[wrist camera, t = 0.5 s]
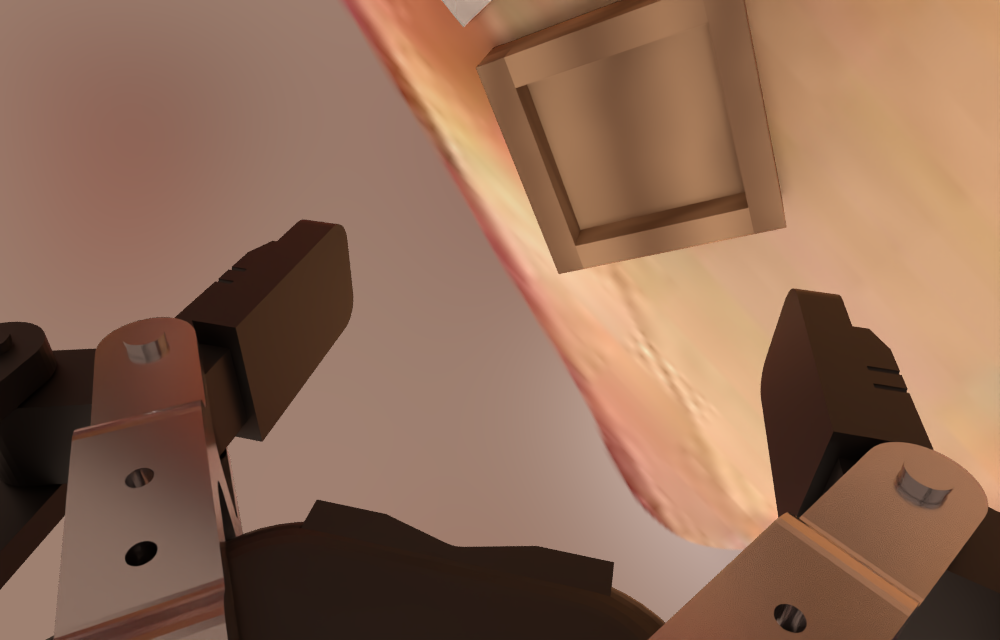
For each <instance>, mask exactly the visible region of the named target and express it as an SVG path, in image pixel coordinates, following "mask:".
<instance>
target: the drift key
mask: <svg viewBox="0 0 1000 640" xmlns="http://www.w3.org/2000/svg"><path fill="white" fill-rule="evenodd" d="M442 1H443V2H444V4H445V5H446V6H447V7H448V9H449V10H450V11H451V12H452V14H453V15H454V16H455V17H456V19H457V20H458V21H459V22H460V24H461V25H462V26H463V27H464V26H465V25H467V24H468V23H469V22H470V21H471V20H473V19H474V18H475V17H476V16H477V15H478V14H479V13H480V12H481V11H482V10H483V9H484V8H485V7H486V6H487V5H488V4H489V3H490V2H491V1H492V0H442Z"/></svg>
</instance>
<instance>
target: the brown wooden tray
mask: <svg viewBox="0 0 1000 640" xmlns="http://www.w3.org/2000/svg"><path fill="white" fill-rule="evenodd" d="M476 69H477V72H478V74H479V77H480V79H481V82H482V84H483V87H484V89H485V92H486V94H487V97H488V99H489V102H490V104H491V107H492V109H493V112H494V114H495V117H496V119H497V122H498V124H499V127H500V129H501V132H502V134H503V137H504V139H505V142H506V144H507V147H508V149H509V152H510V154H511V156H512V159H513V161H514V164H515V166H516V169H517V171H518V174H519V176H520V179H521V181H522V184H523V186H524V189H525V191H526V194H527V196H528V199H529V201H530V204H531V206H532V209H533V211H534V214H535V216H536V219H537V221H538V224H539V226H540V229H541V231H542V234H543V236H544V239H545V241H546V244H547V246H548V248H549V251H550V253H551V256H552V258H553V261H554V263H555V266H556V268H557V271H558V273H559V274H561V273H566V272H571V271H576V270H581V269H586V268H591V267H596V266H600V265H605V264H610V263H615V262H620V261H625V260H630V259H635V258H639V257H644V256H649V255H654V254H659V253H664V252H669V251H674V250H679V249H683V248H688V247H693V246H698V245H703V244H708V243H713V242H718V241H722V240H727V239H732V238H737V237H742V236H747V235H752V234H757V233H762V232H766V231H771V230H776V229H781V228H786V221H785V215H784V209H783V202H782V196H781V191H780V185H779V180H778V175H777V170H776V164H775V159H774V154H773V148H772V143H771V138H770V133H769V127H768V122H767V117H766V111H765V106H764V101H763V96H762V90H761V85H760V80H759V74H758V69H757V64H756V58H755V53H754V48H753V43H752V37H751V32H750V27H749V21H748V16H747V11H746V6H745V0H621V1H618V2H615V3H613V4H610V5H607V6H605V7H602V8H599V9H597V10H594V11H591V12H589V13H586V14H583V15H581V16H578V17H575V18H573V19H570V20H567V21H564V22H562V23H559V24H556V25H554V26H551V27H548V28H546V29H543V30H540V31H538V32H535V33H532V34H530V35H527V36H524V37H522V38H519V39H516V40H514V41H511V42H508V43H506V44H503V45H500V46H497V47H495V48H493V49H492V50H491V51H490V52H489V54H488V55H487V56H486V57H485V58H484V59H483V60H482V61H481V63H480V64H479V65H478V66H477V67H476Z"/></svg>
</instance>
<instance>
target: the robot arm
mask: <svg viewBox="0 0 1000 640" xmlns="http://www.w3.org/2000/svg"><path fill="white" fill-rule="evenodd" d="M352 308H353V289H352V280H351V270H350V261H349V251H348V243H347V235H346V232H345V229H344V228H343V226H342V225H339V224H333V223H325V222H317V221H311V220H300V221H299V222H297V223H296V224H295V225H294V226H293V227H292V228H291V229H290V230H289V231H288V232H286V234H284V236H282V237H281V238H280V239H279V240H278V241H271V242H269V243H267V244H265V245H263V246H261V247H259V248H256V249H254V250H252V251H250V252H248V253H247V254H246V255H245V256H243V257H242V258H241V259H240V260H239V261H238V262H237V263H236V264H234V265H233V266H232V270H228V271H227V272H225V273H224V274H223V275H222V276H221V277H220V278H219V281H218V282H214V283H213V284H212V285H211V286H210V287H209V288H207V289H206V290H205V291H204V292H203V293H202V294H201V295H200V296H199V297H197V298H196V299H195V300H194V301H193V302H192V303H191V304H189V305H188V306H187V307H186V308H185V309H184V310H183V311H182V312H180V313H179V314H178V315H177V316H176V317H175V318H170V317H156V318H149V319H143V320H138V321H135V322H132V323H129V324H126V325H124V326H122V327H120V328H118V329H116V330H114V331H112V332H111V333H110V334H108V335H107V336H106V337H105V338H103V339H102V341H101V342H100V343H99V344H98V346H97V348H96V349H80V350H57V351H52V349H51V347H50V344H49V342H48V340H47V338H46V335H45V333H44V331H43V330H42V329H41V328H40V327H38V326H37V325H34V324H31V323H26V322H7V323H0V589H1V588H2V587H3V586H4V585H5V583H6V582H7V581H8V580H9V579H10V578H11V577H12V575H13V574H14V573H15V572H16V571H17V569H19V567H20V566H21V565H22V564H23V563H24V562H25V560H26V559H27V558H28V557H29V556H30V555H31V554H32V552H33V551H34V550H35V549H36V548H37V547H38V546H39V544H40V543H41V542H42V541H43V540H44V539H45V537H46V536H47V535H48V534H49V533H50V532H51V531H52V529H53V528H54V527H55V526H56V525H57V524H58V523H59V521H60V520H61V519H62V518H63V517H64V516H65V520H64V532H63V543H62V553H61V564H60V575H59V587H58V597H57V608H56V620H55V631H54V636H52V637H50V638H48V639H46V640H1000V512H998V511H995V510H994V509H992V508H990V507H988V500H987V496H986V494H985V492H984V490H983V488H982V487H981V485H980V484H979V482H978V481H977V480H976V479H975V478H974V477H973V476H972V475H971V474H970V473H969V472H968V471H967V470H966V469H965V468H963V467H962V466H960V465H959V464H958V463H956V462H955V461H953V460H952V459H950V458H948V457H947V456H945V455H943V454H941V453H938V452H936V451H934V450H933V447H932V445H931V443H930V440H929V438H928V436H927V433H926V431H925V429H924V426H923V424H922V422H921V419H920V417H919V415H918V412H917V410H916V408H915V405H914V403H913V401H912V398H911V396H910V394H909V393H907V387H906V384H905V382H904V380H903V377H902V375H899V372H900V370H899V368H898V366H897V363H896V361H895V359H894V356H893V354H892V352H891V349H890V348H889V347H888V346H886V345H885V344H884V343H883V342H882V341H881V340H880V339H879V338H878V337H877V336H876V335H875V334H874V333H873V332H872V331H871V330H870V329H867V328H860V327H853V326H852V324H851V322H850V319H849V316H848V313H847V311H846V308H845V305H844V303H843V300H842V298H841V296H840V295H836V294H829V293H822V292H815V291H808V290H800V289H791V290H790V291H789V293H788V295H787V297H786V299H785V302H784V305H783V308H782V311H781V314H780V317H779V320H778V323H777V326H776V329H775V332H774V335H773V338H772V341H771V344H770V347H769V350H768V354H767V357H766V360H765V363H764V367H763V372H762V378H761V401H762V408H763V415H764V422H765V428H766V435H767V442H768V449H769V456H770V463H771V470H772V476H773V483H774V490H775V497H776V504H777V511H778V517H779V518H778V519H777V520H775V521H774V522H773V523H772V524H771V525H770V526H769V527H768V528H767V529H766V530H765V531H764V532H762V533H761V534H760V535H759V536H758V537H757V538H756V539H755V540H754V541H753V542H752V543H751V544H750V545H749V546H747V547H746V548H745V549H744V550H743V551H742V552H741V553H740V554H739V555H738V556H737V557H736V558H735V559H734V560H733V561H732V562H731V563H729V564H728V565H727V566H726V567H725V568H724V569H723V570H722V571H721V572H720V573H719V574H718V575H717V576H716V577H714V578H713V579H712V580H711V581H710V582H709V583H708V584H707V585H706V586H705V587H704V588H703V589H701V590H700V591H699V592H698V593H697V594H696V595H695V596H694V597H693V598H692V599H691V600H690V601H689V602H688V603H686V604H685V605H684V606H683V607H682V608H681V609H680V610H679V611H678V612H677V613H676V614H675V615H674V616H673V617H672V618H670V619H669V620H668V621H667V622H666V623H665V622H664V621H663V620H662V619H661V618H660V617H658V616H657V615H656V614H655V613H653V612H652V611H651V610H649V609H648V608H646V607H645V606H644V605H643V604H641V603H640V602H638V601H636V600H635V599H633V598H632V597H630V596H628V595H627V594H625V593H623V592H621V591H619V590H617V589H615V588H613V587H612V577H613V567H614V562H610V561H605V560H600V559H595V558H591V557H586V556H581V555H577V554H572V553H567V552H562V551H557V550H553V549H548V548H543V547H539V546H505V547H504V546H503V547H457V546H452V545H449V544H447V543H445V542H443V541H440V540H438V539H436V538H434V537H432V536H430V535H428V534H426V533H424V532H422V531H420V530H418V529H415V528H413V527H412V526H409V525H407V524H405V523H403V522H401V521H399V520H397V519H395V518H393V517H391V516H389V515H387V514H383V513H378V512H373V511H369V510H364V509H359V508H354V507H350V506H345V505H340V504H335V503H331V502H326V501H321V500H316V502H315V504H314V506H313V508H312V509H311V511H310V513H309V515H308V516H307V518H306V520H305V521H304V522H294V523H286V524H279V525H274V526H269V527H265V528H260V529H257V530H254V531H251V532H248V533H245V534H243V531H242V525H241V519H240V512H239V507H238V501H237V496H236V489H235V483H234V477H233V471H232V465H231V459H230V456H229V452H228V448H227V446H228V445H229V443H230V442H231V441H232V440H233V439H234V437H235V436H236V437H242V438H246V439H252V440H256V441H263V440H264V439H265V437H266V436H267V434H268V433H269V432H270V431H271V429H272V428H273V426H274V425H275V424H276V422H277V421H278V420H279V418H280V417H281V415H282V414H283V413H284V411H285V410H286V409H287V407H288V406H289V404H290V403H291V402H292V400H293V399H294V398H295V396H296V395H297V393H298V392H299V391H300V389H301V388H302V387H303V385H304V384H305V383H306V381H307V380H308V378H309V377H310V376H311V374H312V373H313V372H314V370H315V369H316V368H317V366H318V365H319V363H320V362H321V361H322V359H323V358H324V356H325V355H326V354H327V352H328V351H329V350H330V348H331V347H332V345H333V344H334V343H335V341H336V340H337V339H338V337H339V336H340V335H341V333H342V332H343V330H344V329H345V328H346V326H347V324H348V322H349V320H350V317H351V313H352Z"/></svg>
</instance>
